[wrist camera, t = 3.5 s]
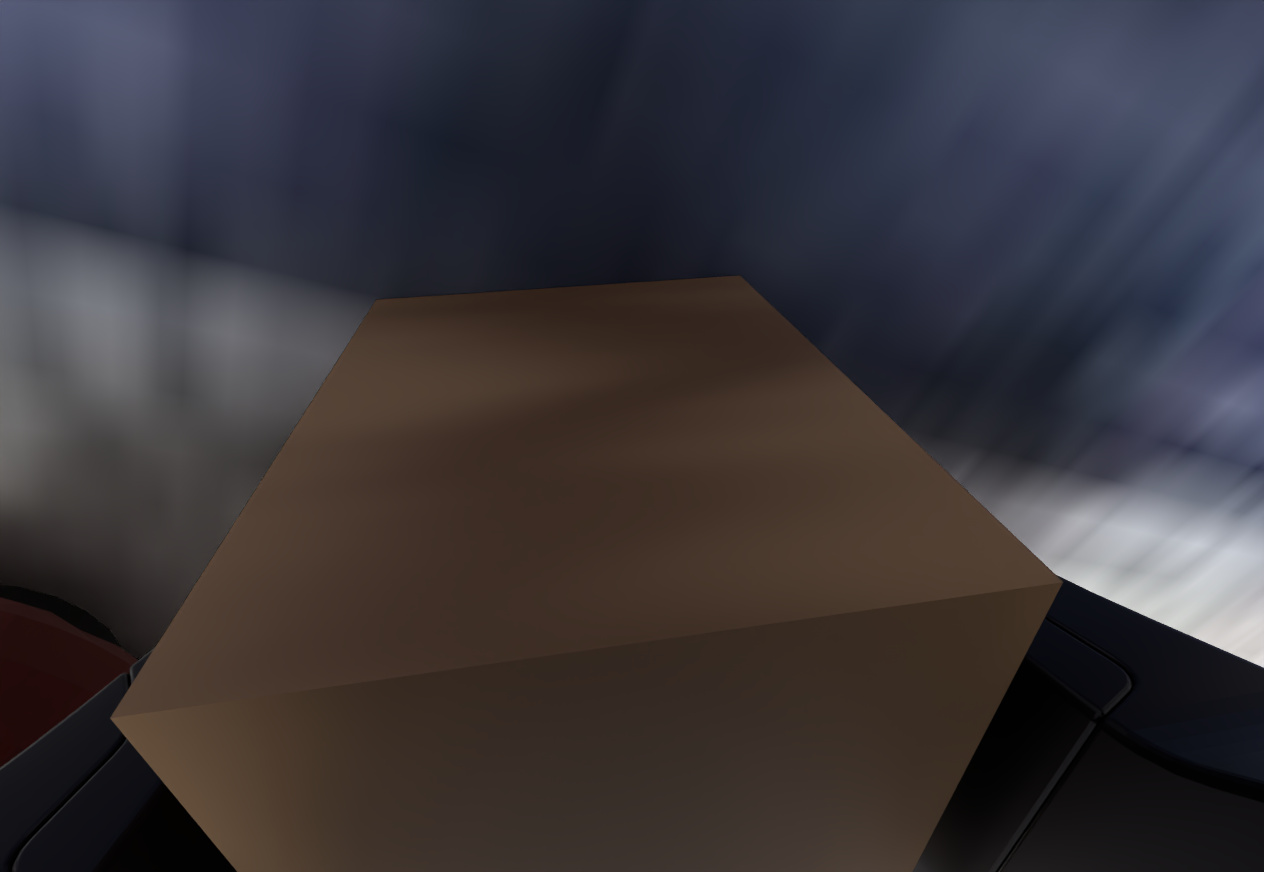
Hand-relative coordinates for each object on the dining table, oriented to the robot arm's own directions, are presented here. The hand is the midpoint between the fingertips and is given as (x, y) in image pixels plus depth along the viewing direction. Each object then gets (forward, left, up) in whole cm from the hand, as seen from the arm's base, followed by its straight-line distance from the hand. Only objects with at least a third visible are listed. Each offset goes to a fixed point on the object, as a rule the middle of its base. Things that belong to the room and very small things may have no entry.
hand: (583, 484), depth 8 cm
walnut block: (0, 0, -1) cm, 1 cm away
